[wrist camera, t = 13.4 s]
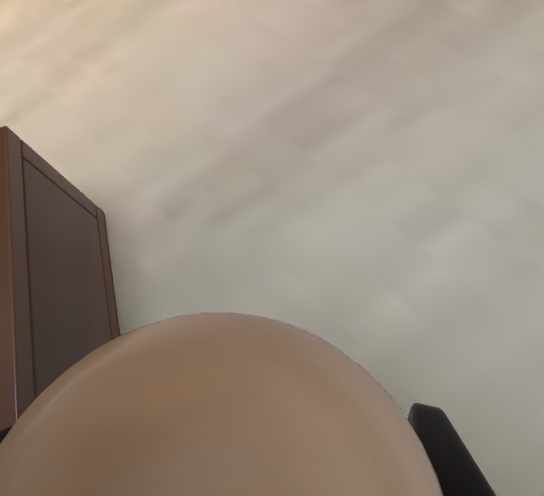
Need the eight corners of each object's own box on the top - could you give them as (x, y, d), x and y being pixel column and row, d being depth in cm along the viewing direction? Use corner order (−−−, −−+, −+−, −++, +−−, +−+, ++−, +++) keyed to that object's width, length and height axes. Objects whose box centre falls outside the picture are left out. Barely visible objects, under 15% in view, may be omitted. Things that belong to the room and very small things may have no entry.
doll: (254, 575, 11) (-344, 1479, 1) (216, 413, 12) (-215, 360, 3) (407, 528, 11) (799, 1203, 1) (351, 370, 12) (355, 166, 3)
